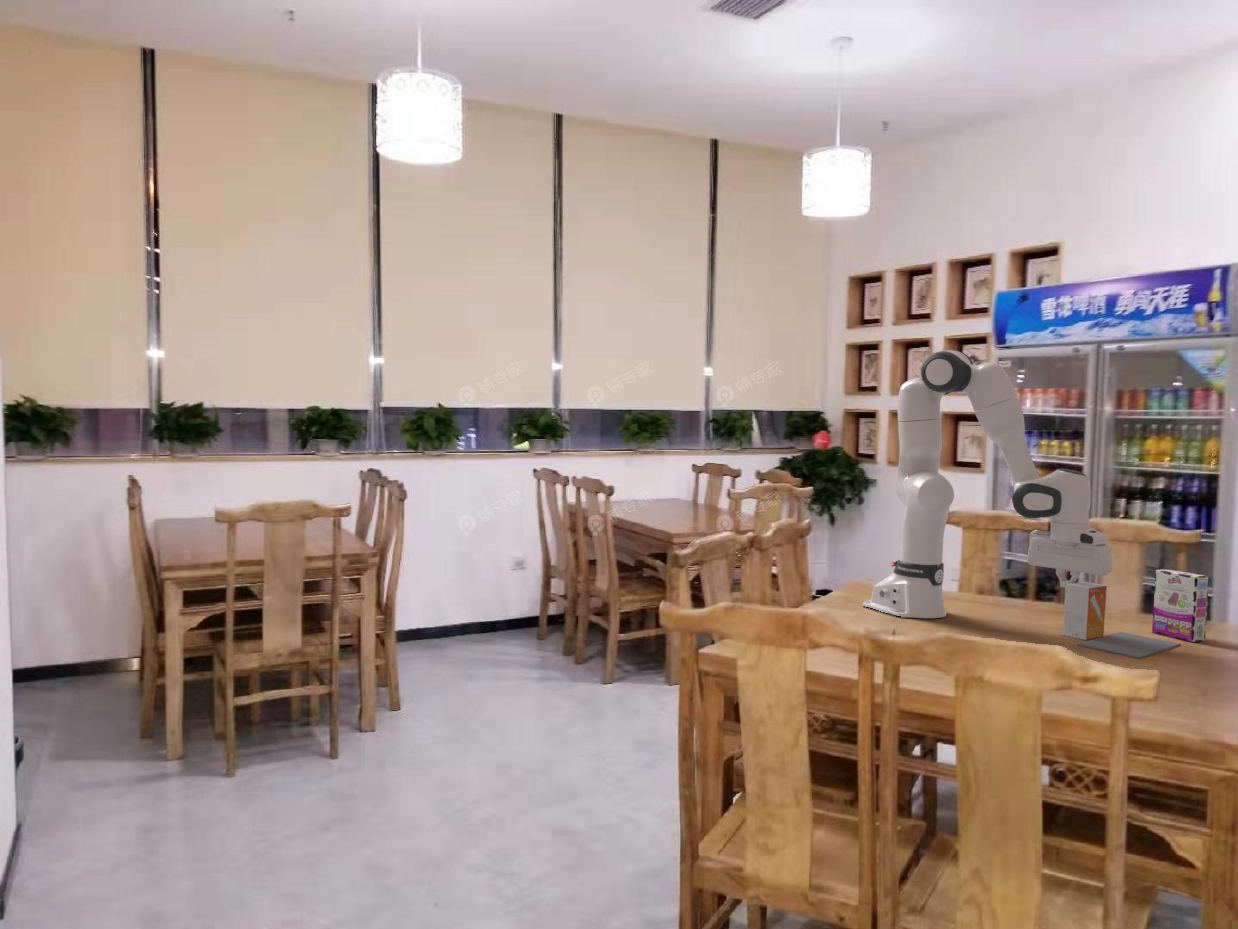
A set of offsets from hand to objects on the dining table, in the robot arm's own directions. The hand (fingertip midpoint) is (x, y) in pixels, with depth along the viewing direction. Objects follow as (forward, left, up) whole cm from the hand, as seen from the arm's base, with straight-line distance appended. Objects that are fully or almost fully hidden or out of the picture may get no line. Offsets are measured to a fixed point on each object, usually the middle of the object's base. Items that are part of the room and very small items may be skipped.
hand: (1066, 587), depth 236 cm
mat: (+16, 0, -11) cm, 19 cm away
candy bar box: (+19, +20, -12) cm, 30 cm away
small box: (+5, 0, -12) cm, 13 cm away
